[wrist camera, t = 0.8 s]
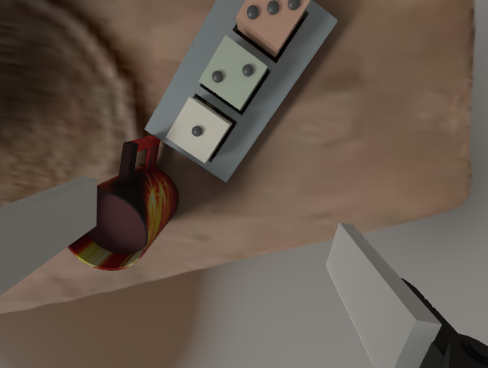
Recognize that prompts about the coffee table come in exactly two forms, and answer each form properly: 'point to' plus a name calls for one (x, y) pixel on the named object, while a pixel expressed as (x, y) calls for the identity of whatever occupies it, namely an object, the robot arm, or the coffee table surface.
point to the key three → (270, 21)
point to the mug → (129, 211)
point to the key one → (198, 129)
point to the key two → (233, 73)
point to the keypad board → (266, 98)
